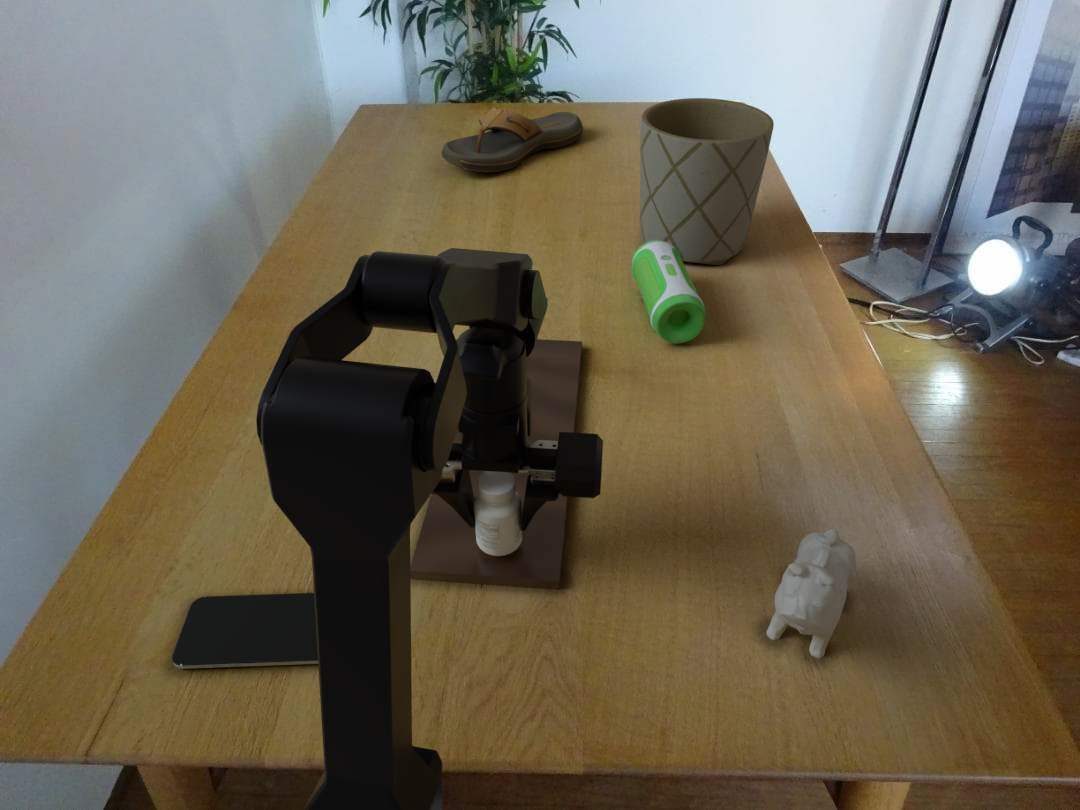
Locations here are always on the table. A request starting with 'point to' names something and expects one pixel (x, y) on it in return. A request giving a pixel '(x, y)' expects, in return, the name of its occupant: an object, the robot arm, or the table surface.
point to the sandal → (511, 139)
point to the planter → (701, 175)
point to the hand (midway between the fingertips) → (498, 525)
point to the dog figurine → (814, 589)
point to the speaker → (668, 292)
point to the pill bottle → (497, 513)
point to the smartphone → (248, 631)
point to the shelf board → (538, 558)
